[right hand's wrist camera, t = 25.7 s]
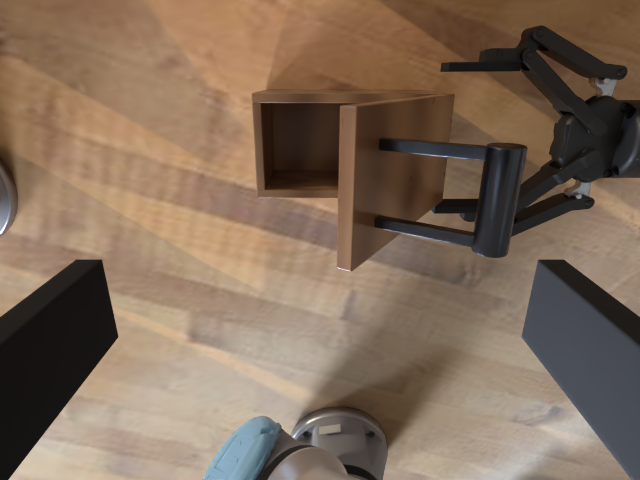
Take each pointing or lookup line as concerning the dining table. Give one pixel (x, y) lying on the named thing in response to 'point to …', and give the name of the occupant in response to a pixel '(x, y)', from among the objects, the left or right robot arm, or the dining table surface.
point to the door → (416, 178)
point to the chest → (304, 138)
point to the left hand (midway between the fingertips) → (437, 140)
